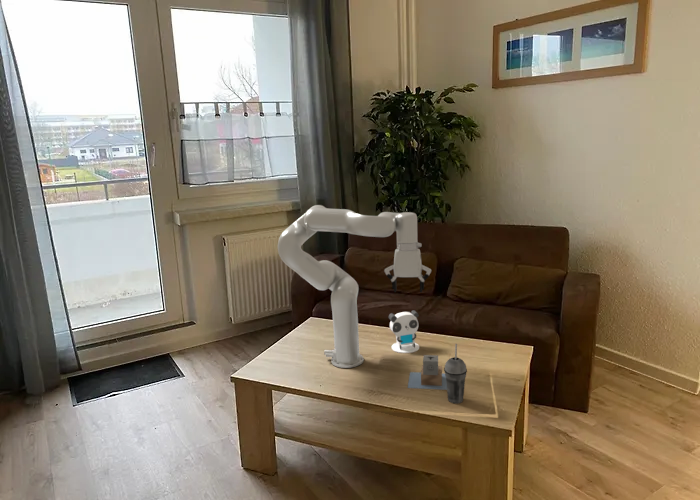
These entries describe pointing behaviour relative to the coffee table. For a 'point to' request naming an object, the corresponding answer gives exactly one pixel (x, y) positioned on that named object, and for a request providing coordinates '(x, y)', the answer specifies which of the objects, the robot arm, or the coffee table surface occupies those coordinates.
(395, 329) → the panda figurine
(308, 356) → the coffee table surface
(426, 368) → the grey symbol cube
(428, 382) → the light brown plinth
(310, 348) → the coffee table surface
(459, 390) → the beverage cup
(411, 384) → the blue board
